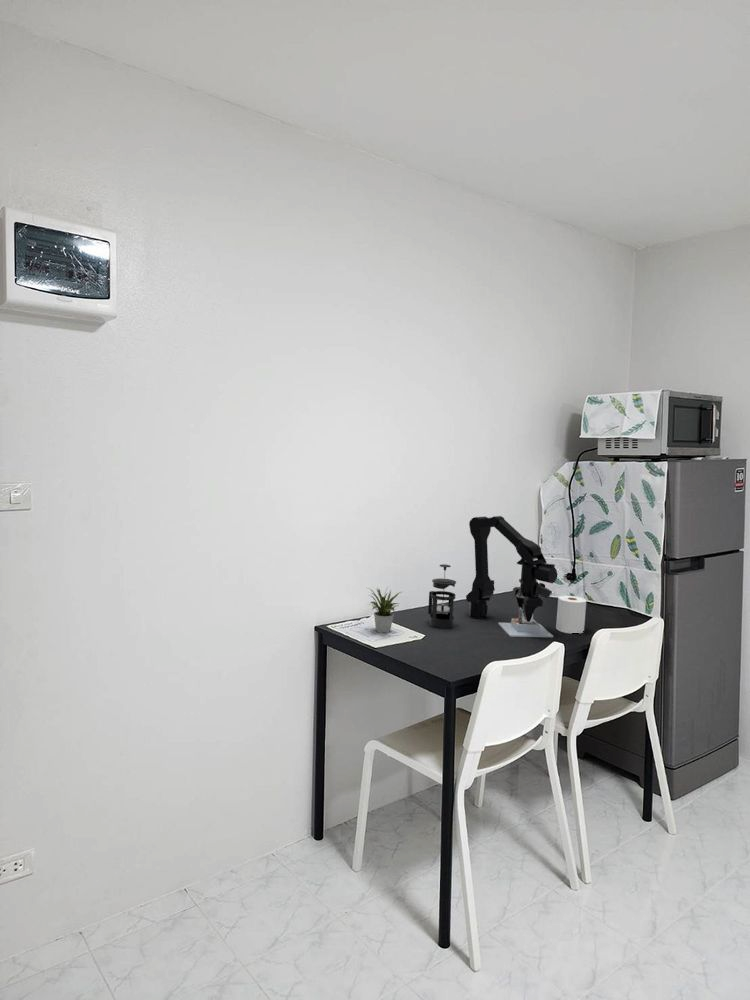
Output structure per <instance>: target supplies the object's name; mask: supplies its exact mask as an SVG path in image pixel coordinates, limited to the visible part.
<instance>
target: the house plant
mask: <svg viewBox="0 0 750 1000" xmlns="http://www.w3.org/2000/svg"><path fill="white" fill-rule="evenodd" d="M367 589H369V590H370V591H371V594H372V595H373V596H372V595H370V594H369V596H370V597H371V598H372V599H373V600H374V601H370V602H369V604H367V605H370V606H372V609H371V610H372V611H373V610H374V609H375V610H376V611H375V612H374V613H373V615H374V624H375V631H376V630H377V631H379V632H378V633H380V632H388V633H390V632H391V629H392V624H393V619H394V616H395V614H394V612H395V608H396V607H399V605H398V604H400V603H398V602H393V601H394V599H395V598H396V597H398V595H399V594H401V593H403V591H399V592H398V593H396V594H395V595H394V596H391V593H392V590H389V593H387V589H388V586H387V587H386V589H385V591H384V596H383V595H382V594H381V593H382V592H381V590H380V588H376V592H377V594H378V596H377V595H376V593H375V591H374V590H372V589H371V588H368V587H367ZM387 594H388V595H387ZM379 598H380V599H379ZM386 598H387V599H386ZM391 611H392V612H391ZM377 631H376V632H377ZM389 631H390V632H389Z"/></svg>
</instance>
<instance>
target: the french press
mask: <svg viewBox="0 0 750 1000" xmlns="http://www.w3.org/2000/svg"><path fill="white" fill-rule="evenodd" d="M439 567H441V568H443V571H444V572H443V578H433V579H432V587H433V588H436V589H440V590H437V591H436V590H435V591H434V590H431V591H430V590H429V591H428V593H429V594H428V605H427V606H428V609H427V611H428V612H427V613H428V615H429V624H428V625H429V626H430V627H432V628H435V629H441V630H442V629H443V630H447V629H452V628H454V627H455V624H454V623H455V621H454V620H455V617H454V610H455V609H454V601H455V600H456V593H453V592H450V591H445V589H447V588H449V586H450V587H453V588H455V586H456V584H457V581H456V580H454V579H449V578H446V571H447V568H451V565H449V564H446V563H445V564H444V563H443V564H439ZM440 595H441V596H440ZM438 600H439V601H442V603H441V604H442V605H438ZM444 601H448V605H444Z"/></svg>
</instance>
